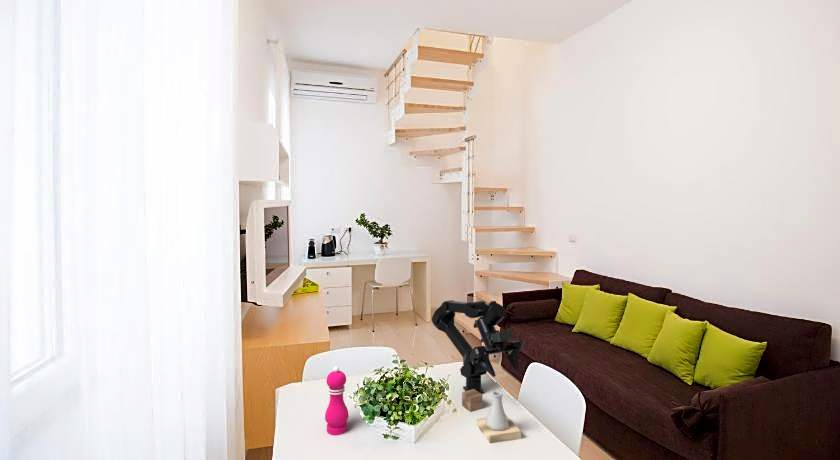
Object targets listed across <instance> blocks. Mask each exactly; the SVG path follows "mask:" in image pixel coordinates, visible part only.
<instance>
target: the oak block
mask: <svg viewBox="0 0 840 460" xmlns="http://www.w3.org/2000/svg"><path fill="white" fill-rule="evenodd" d="M505 415H506V418H507V421H508V424H509V428H507V429H505V430H492V429H490V428H489V427H487V426H486V418H487V417H483V418H477V419H476V426H477V428H478V429H479V431H480V432H481V433H482V434H483V437H485V439H486V440H487V441H488V443H489V444H494V443H495V444H496V443H503V442H508V441H515V440H521V439H522V430H521V429H520V428H519V427H518V426H517V425H516V424H515V423H514V422H513V420H511V419H510V418H509V416H508V415H507V414H505Z"/></svg>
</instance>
